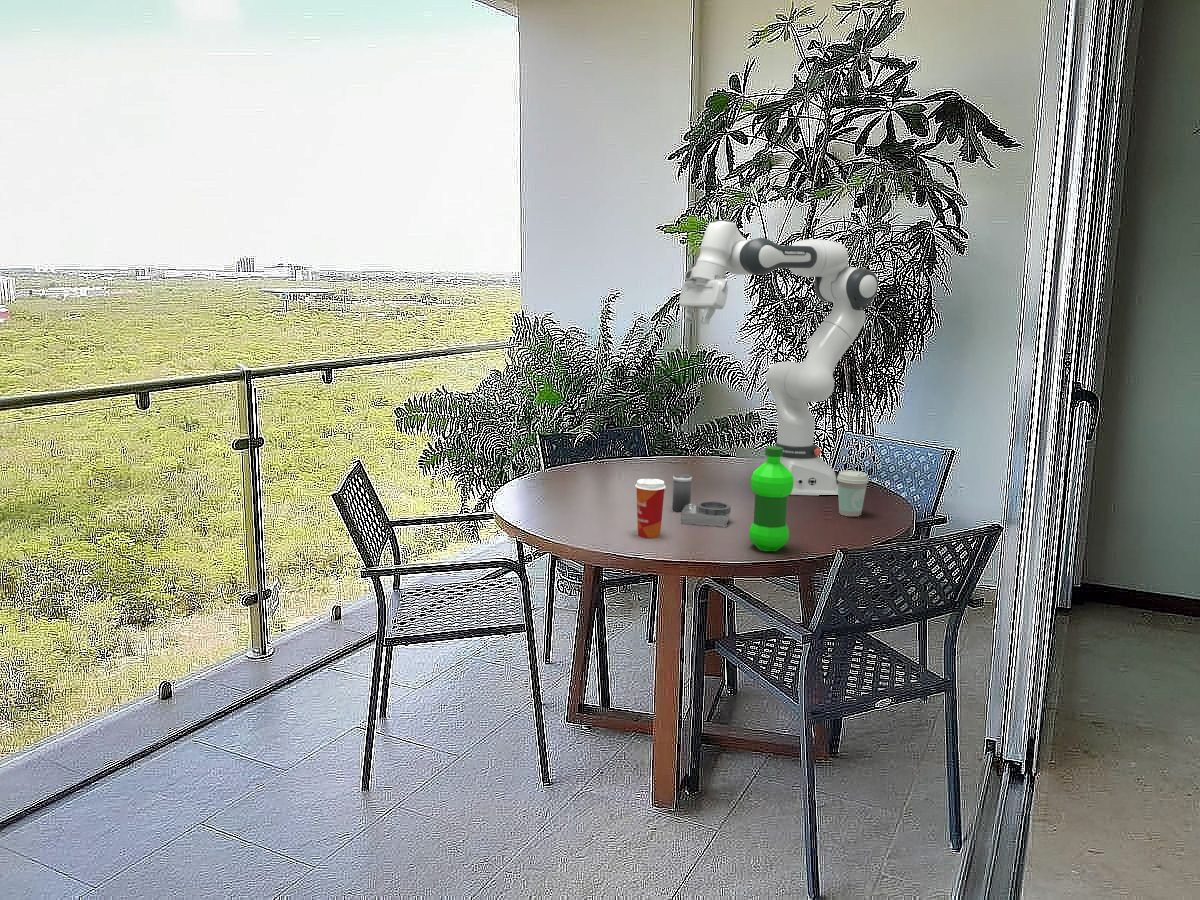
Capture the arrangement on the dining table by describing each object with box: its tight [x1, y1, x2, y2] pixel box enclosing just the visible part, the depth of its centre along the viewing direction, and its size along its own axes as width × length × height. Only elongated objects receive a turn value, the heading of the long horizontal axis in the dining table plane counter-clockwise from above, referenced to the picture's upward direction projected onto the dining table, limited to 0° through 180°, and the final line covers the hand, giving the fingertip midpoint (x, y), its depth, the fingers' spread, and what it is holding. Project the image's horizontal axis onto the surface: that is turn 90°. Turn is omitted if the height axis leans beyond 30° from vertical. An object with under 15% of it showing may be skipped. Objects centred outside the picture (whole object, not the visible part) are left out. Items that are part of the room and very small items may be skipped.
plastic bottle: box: [748, 445, 794, 552], centre depth 224 cm, size 10×10×25 cm
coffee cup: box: [836, 470, 870, 516], centre depth 258 cm, size 9×9×12 cm
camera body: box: [680, 500, 732, 528], centre depth 249 cm, size 12×9×4 cm
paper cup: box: [635, 478, 667, 539], centre depth 234 cm, size 8×8×14 cm
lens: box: [671, 473, 693, 513], centre depth 259 cm, size 5×5×10 cm
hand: (696, 323), depth 263 cm, fingers open, 8 cm apart
